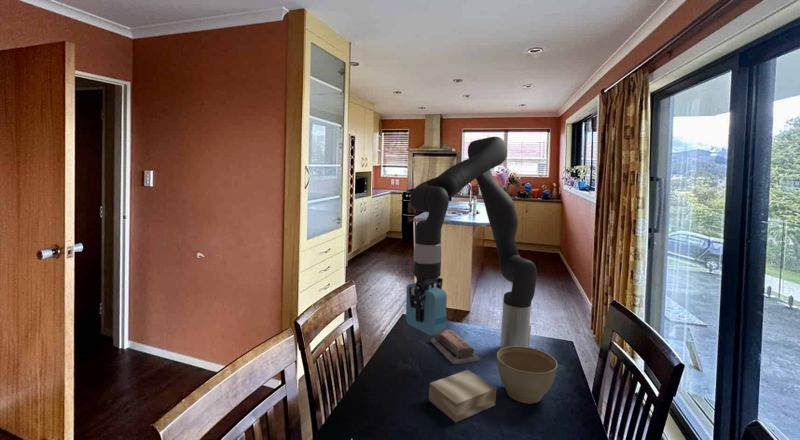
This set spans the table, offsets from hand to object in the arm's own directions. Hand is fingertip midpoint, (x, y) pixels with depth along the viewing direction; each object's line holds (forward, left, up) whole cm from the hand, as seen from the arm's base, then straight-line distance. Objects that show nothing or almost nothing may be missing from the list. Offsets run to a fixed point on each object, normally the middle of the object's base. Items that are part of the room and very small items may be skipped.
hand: (425, 317), depth 111 cm
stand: (-5, +11, -21) cm, 24 cm away
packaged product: (-24, -14, -22) cm, 35 cm away
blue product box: (0, 0, -3) cm, 3 cm away
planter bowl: (-23, +17, -21) cm, 36 cm away
